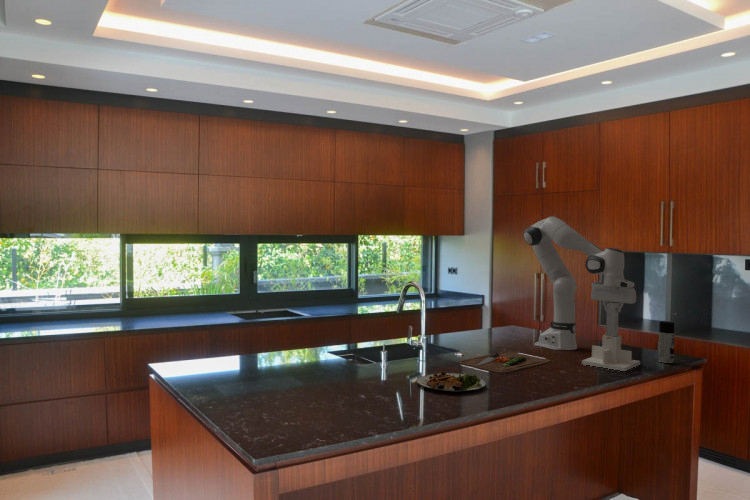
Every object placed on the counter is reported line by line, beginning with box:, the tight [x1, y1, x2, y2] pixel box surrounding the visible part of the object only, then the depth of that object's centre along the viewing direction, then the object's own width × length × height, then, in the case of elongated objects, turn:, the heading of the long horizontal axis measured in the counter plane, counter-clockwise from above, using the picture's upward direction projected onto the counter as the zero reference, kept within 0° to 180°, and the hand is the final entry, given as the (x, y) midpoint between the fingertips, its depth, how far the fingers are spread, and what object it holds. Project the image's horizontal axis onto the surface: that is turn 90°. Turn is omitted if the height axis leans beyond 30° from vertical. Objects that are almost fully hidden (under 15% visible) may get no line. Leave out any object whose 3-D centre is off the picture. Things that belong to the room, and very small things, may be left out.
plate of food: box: [416, 370, 487, 393], centre depth 233 cm, size 28×28×6 cm
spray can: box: [658, 320, 675, 364], centre depth 280 cm, size 7×7×20 cm
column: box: [605, 302, 620, 337], centre depth 273 cm, size 4×4×18 cm
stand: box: [581, 334, 641, 372], centre depth 273 cm, size 20×20×14 cm
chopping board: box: [458, 350, 551, 375], centre depth 275 cm, size 45×27×3 cm, turn 130°
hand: (612, 311), depth 273 cm, fingers closed on column, 4 cm apart
